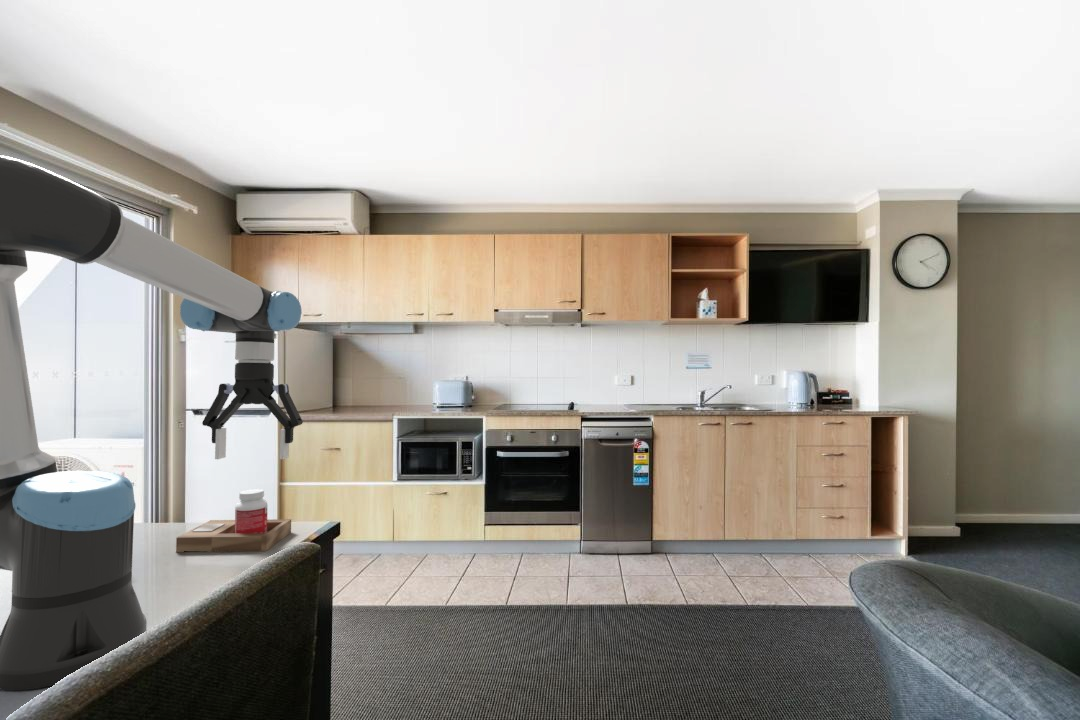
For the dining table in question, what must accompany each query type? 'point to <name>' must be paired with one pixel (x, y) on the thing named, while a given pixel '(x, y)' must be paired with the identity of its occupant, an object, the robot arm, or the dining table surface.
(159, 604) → the dining table surface
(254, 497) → the pill bottle
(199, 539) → the socket block
